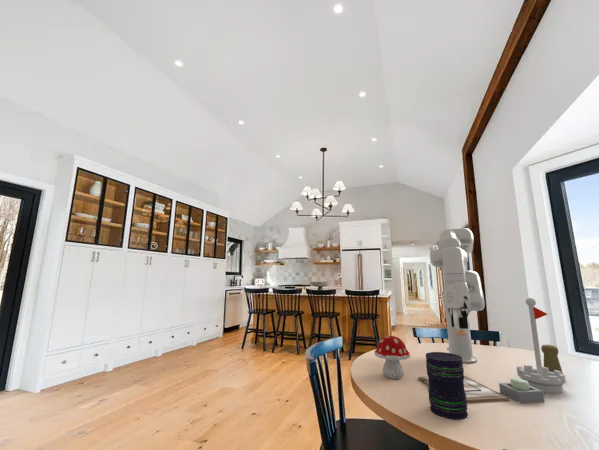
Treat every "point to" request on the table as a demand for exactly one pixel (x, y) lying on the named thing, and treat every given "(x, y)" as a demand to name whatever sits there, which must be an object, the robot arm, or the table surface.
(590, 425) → the table surface
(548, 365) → the cork
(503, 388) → the button housing
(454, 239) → the robot arm
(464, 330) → the marker
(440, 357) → the navy striped cylinder
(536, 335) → the flag stand
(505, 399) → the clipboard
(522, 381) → the button
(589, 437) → the table surface
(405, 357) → the decorative mushroom
